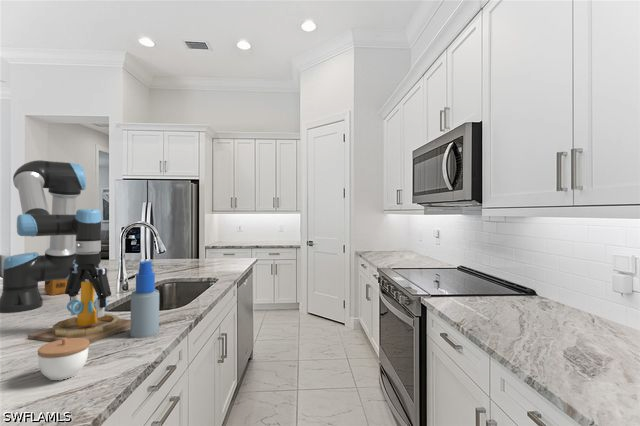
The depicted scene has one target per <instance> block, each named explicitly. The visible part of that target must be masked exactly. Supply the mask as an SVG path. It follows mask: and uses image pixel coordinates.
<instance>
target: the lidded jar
mask: <svg viewBox="0 0 640 426" xmlns="http://www.w3.org/2000/svg"><path fill="white" fill-rule="evenodd" d="M89 346H90V344H89V340H87V339H84V338H69V339H67V338H63V339H62V340H57V341H54V342H47V343H45V344H42V345H41V346H39V348H38V349H37V361H38V362H37V363H38V368H39V370H40V372H41V374H43V376H44V377H46V378H48V379H49V381H52V380H59V381H64V380H63V379H65V380H68V379H67V378H69V379H71V378H73V376H74V377H75V376H77V375H78V374H79V372H80V371H81V370H82V369H83V368H84V366H85V365H86V362H87V360H88V358H89V357H88V356H89V351H90V350H89V349H90V347H89ZM76 374H77V375H76ZM70 377H71V378H70Z"/></svg>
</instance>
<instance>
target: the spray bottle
mask: <svg viewBox="0 0 640 426" xmlns="http://www.w3.org/2000/svg"><path fill="white" fill-rule="evenodd" d="M152 263H153V262H152V260H143V261H139V268H138V273H136V274H135V290H134V291H132V292H131V295H130V320H131V327H130V328H129V329H130V330H129V331H130V332H129V333H130V335H129V336H130V337H131V338H138V339H143V338H149V337H153V336H155V335H157V334H159V333H160V291H159V290H158V289H156V288H155V285H156V283H155V282H156V278H155V277H156V274H155V272H153V267H152V265H153V264H152Z"/></svg>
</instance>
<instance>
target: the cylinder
mask: <svg viewBox="0 0 640 426" xmlns="http://www.w3.org/2000/svg"><path fill="white" fill-rule="evenodd" d="M95 293H96V291H95V289H94V287H93V285H92V283H91V282H90V281H89V280H87V279H86V280H85V281H81V288H80V302H79V301H78V300H72V301H70V300H69V302H68V303H67V304H66V309H67V310H68V312H70V313H71V312H72V313H73V314H76V317H77V325H78V326H88V325H93V324H95V323H97V318H96V299H97V298H98V296H95ZM73 302H76V303H75V304H74V305H73V306H72V309H71V305H70V304H71V303H73ZM77 304H78V305H79V307H78V309H76V310H75V306H76V305H77ZM107 307H108V301H107V300H106V306H105V309H106V308H107ZM77 311H78V312H77Z"/></svg>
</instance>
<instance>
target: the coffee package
mask: <svg viewBox="0 0 640 426" xmlns="http://www.w3.org/2000/svg"><path fill="white" fill-rule="evenodd" d="M67 282H68V279H65V280H51V281H44V292H45V294H46V295H49V296H56V295H61V294H62V295H63V294H64V295H66V294H65V290H66V286H67ZM69 290H70V289H69Z"/></svg>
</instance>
